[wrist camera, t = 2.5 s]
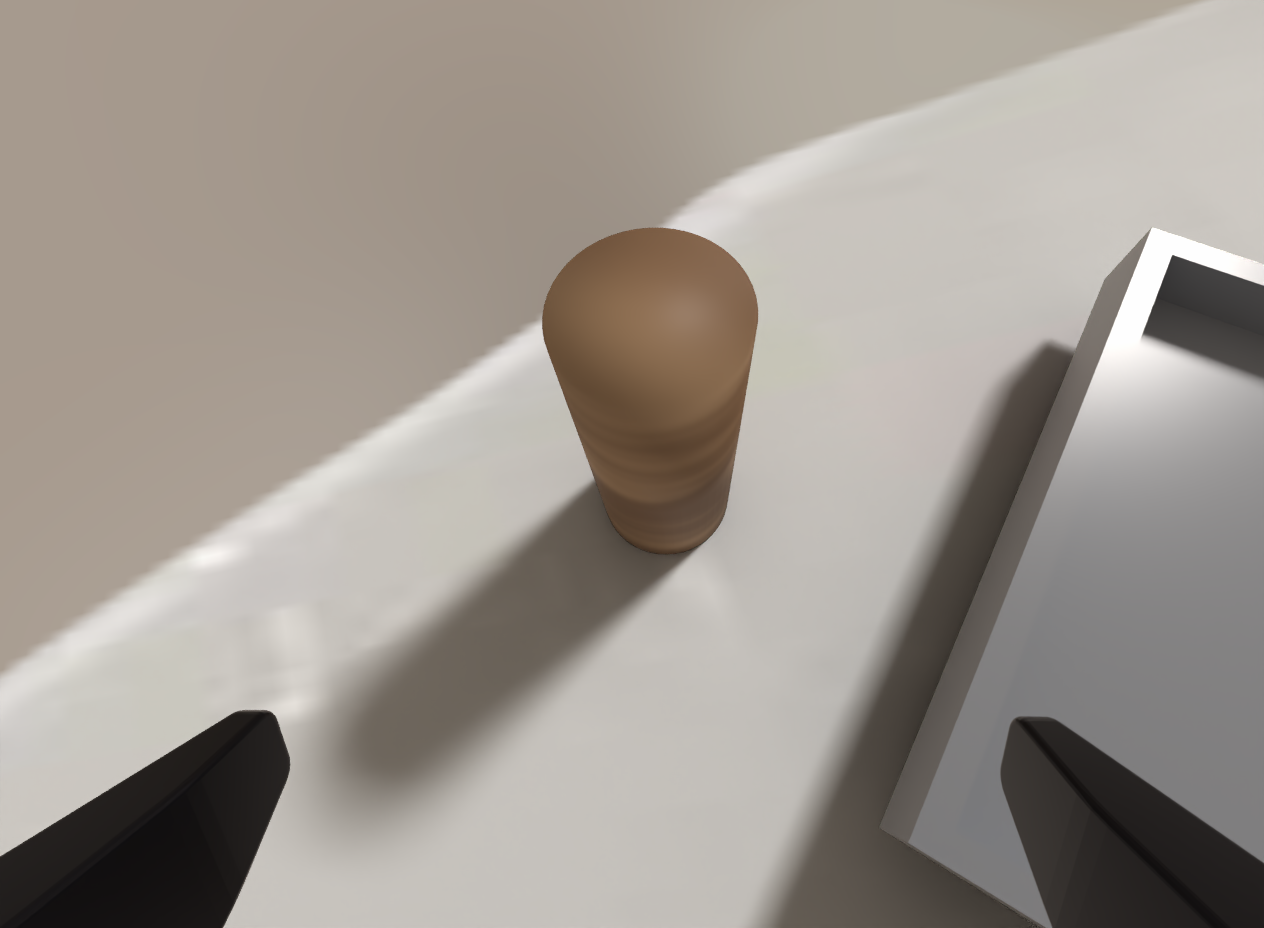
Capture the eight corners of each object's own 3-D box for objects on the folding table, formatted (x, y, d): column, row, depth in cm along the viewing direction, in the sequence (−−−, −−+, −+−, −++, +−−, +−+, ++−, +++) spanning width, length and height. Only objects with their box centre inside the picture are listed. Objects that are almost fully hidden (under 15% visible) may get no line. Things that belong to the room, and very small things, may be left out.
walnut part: (690, 577, 22) (692, 447, 12) (581, 516, 23) (500, 352, 13) (749, 471, 24) (794, 274, 13) (643, 419, 25) (612, 201, 15)
